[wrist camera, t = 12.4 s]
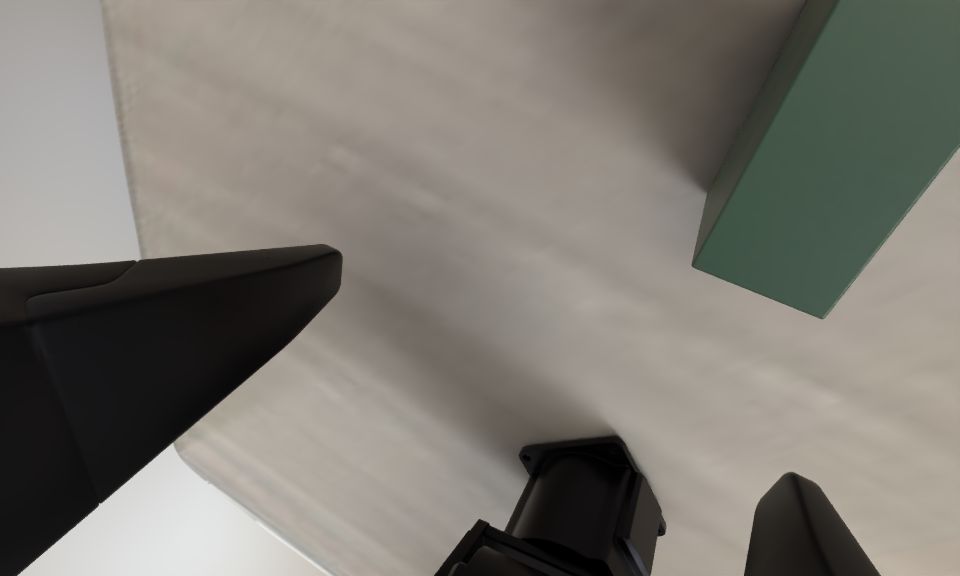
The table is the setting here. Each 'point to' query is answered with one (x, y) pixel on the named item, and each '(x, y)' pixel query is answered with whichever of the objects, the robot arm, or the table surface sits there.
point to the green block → (835, 149)
